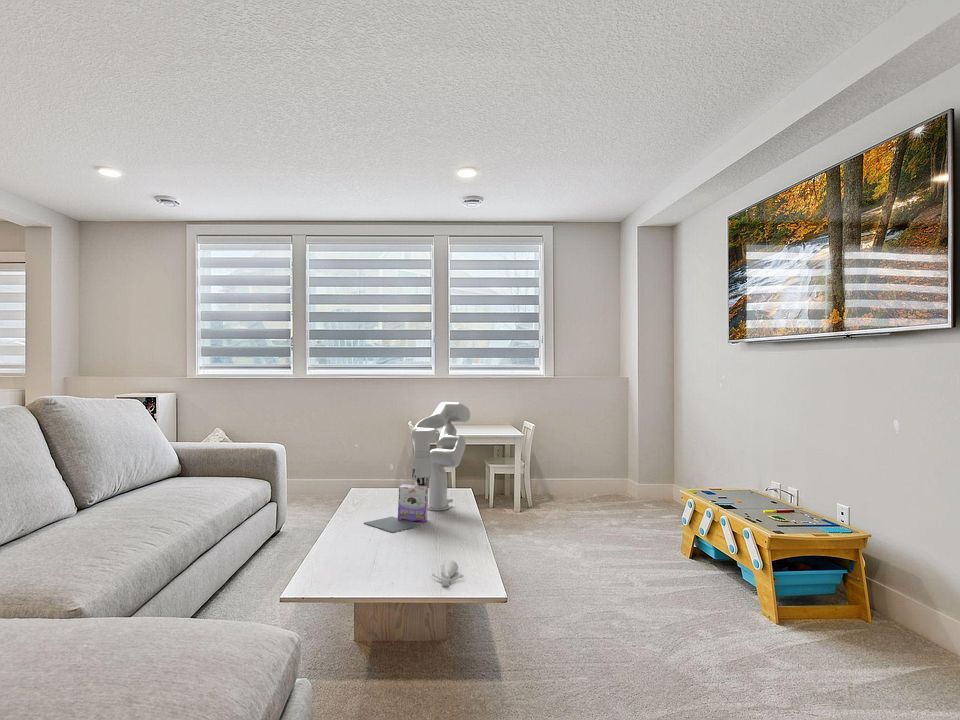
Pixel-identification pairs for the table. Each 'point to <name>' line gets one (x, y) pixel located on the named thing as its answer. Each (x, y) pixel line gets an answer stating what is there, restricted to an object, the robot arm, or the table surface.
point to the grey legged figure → (448, 572)
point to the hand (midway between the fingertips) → (421, 491)
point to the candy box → (413, 502)
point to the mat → (392, 524)
